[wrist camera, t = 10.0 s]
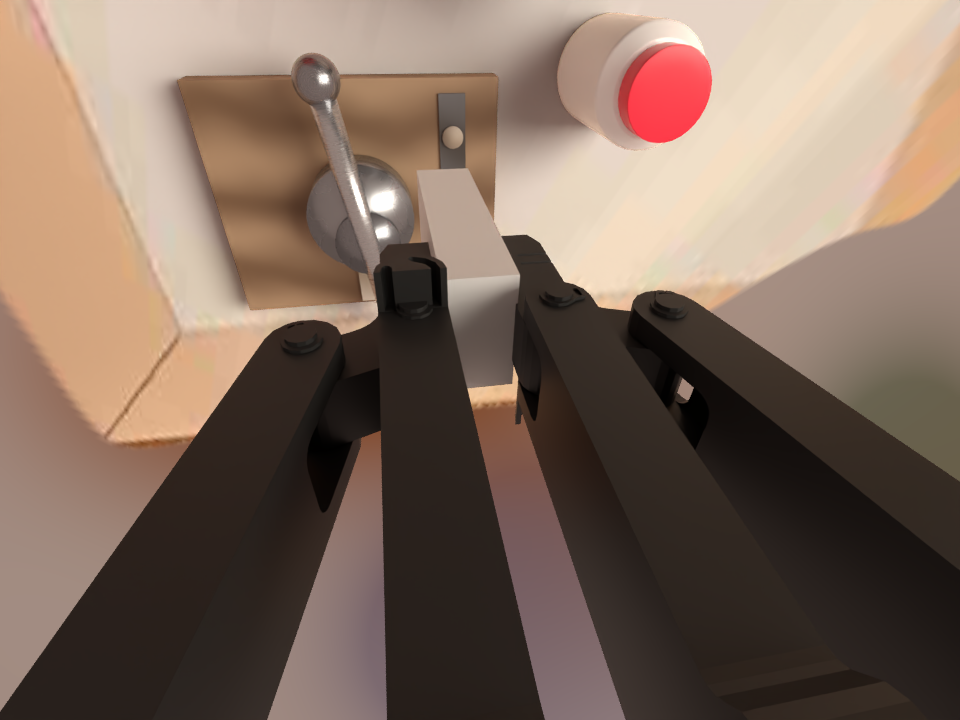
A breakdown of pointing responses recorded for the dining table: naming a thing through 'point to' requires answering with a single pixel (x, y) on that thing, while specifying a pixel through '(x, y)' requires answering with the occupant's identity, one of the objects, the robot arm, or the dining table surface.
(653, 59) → the pill bottle
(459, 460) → the robot arm
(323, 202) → the metal ball lever
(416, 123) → the board
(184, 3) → the dining table surface
